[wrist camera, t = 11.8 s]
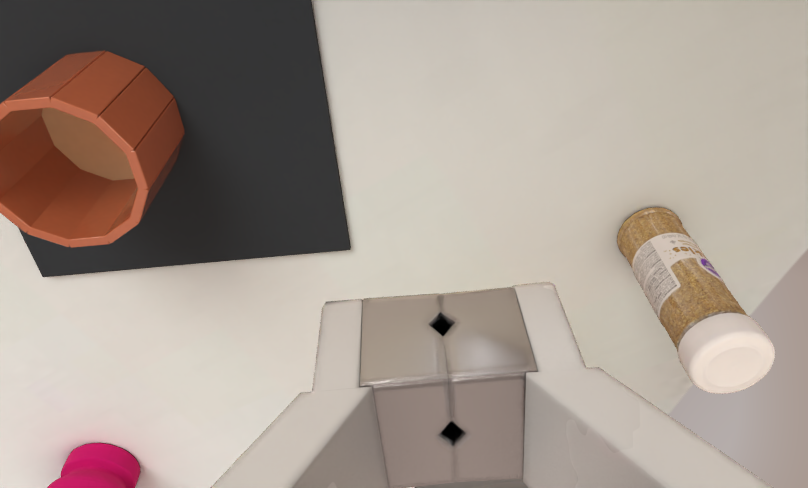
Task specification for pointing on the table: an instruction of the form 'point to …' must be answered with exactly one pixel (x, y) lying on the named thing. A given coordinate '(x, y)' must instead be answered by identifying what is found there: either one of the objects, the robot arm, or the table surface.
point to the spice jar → (694, 304)
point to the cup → (86, 149)
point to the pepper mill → (98, 468)
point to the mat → (204, 125)
